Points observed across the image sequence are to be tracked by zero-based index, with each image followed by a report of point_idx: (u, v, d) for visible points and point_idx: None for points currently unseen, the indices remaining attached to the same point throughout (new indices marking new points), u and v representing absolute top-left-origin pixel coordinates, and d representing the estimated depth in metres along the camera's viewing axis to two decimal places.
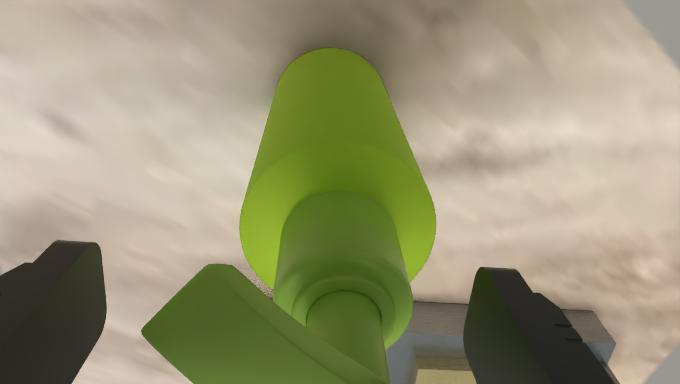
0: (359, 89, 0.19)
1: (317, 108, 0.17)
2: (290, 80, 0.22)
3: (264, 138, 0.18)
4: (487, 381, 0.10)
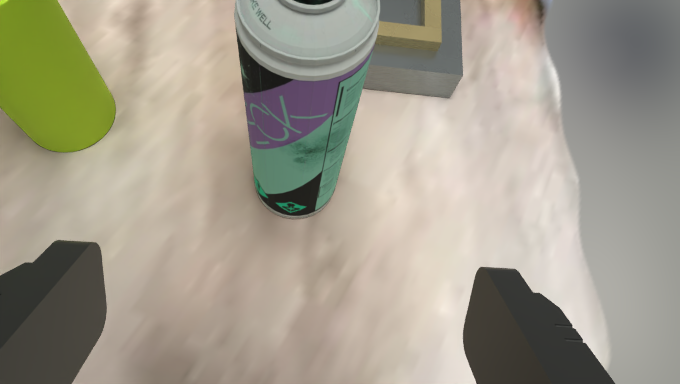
0: None
1: None
2: None
3: None
4: (487, 381, 0.10)
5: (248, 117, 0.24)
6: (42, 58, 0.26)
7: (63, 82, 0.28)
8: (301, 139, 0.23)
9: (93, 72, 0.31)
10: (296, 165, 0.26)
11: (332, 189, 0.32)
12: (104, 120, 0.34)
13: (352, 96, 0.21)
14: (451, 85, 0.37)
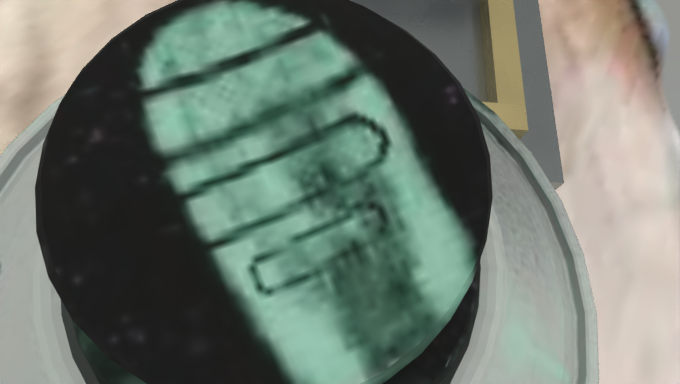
0: None
1: None
2: None
3: None
4: None
5: None
6: None
7: None
8: None
9: None
10: None
11: None
12: None
13: None
14: None
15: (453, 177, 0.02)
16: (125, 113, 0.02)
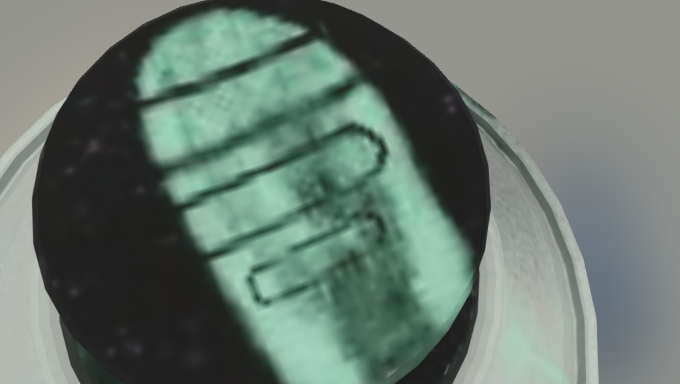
0: None
1: None
2: None
3: None
4: None
5: None
6: None
7: None
8: None
9: None
10: None
11: None
12: None
13: None
14: None
15: (452, 187, 0.02)
16: (121, 120, 0.02)
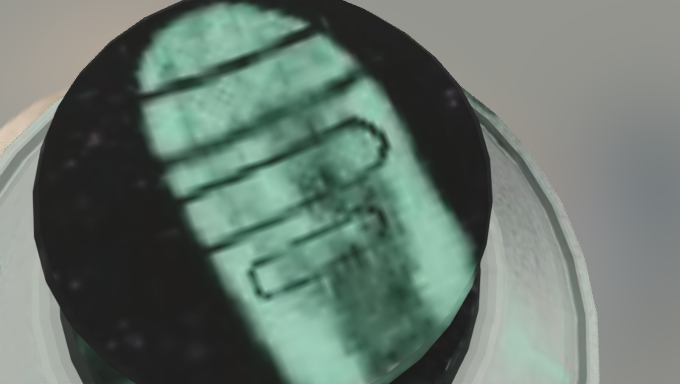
0: None
1: None
2: None
3: None
4: None
5: None
6: None
7: None
8: None
9: None
10: None
11: None
12: None
13: None
14: None
15: (454, 181, 0.02)
16: (122, 115, 0.02)
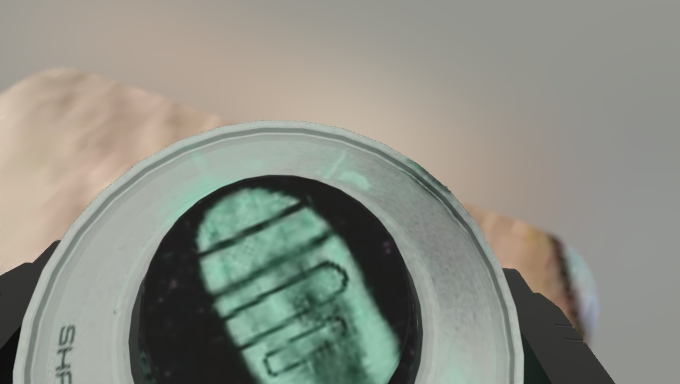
0: None
1: None
2: None
3: None
4: None
5: None
6: None
7: None
8: None
9: None
10: None
11: None
12: None
13: None
14: None
15: (387, 300, 0.03)
16: (189, 268, 0.03)
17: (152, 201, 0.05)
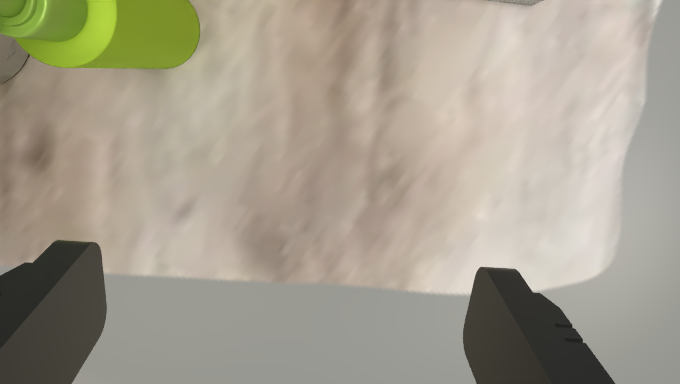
0: None
1: None
2: None
3: None
4: (487, 381, 0.10)
5: None
6: (139, 51, 0.29)
7: (157, 50, 0.32)
8: None
9: (177, 17, 0.33)
10: None
11: None
12: (192, 43, 0.37)
13: None
14: (533, 1, 0.35)
15: None
16: None
17: None
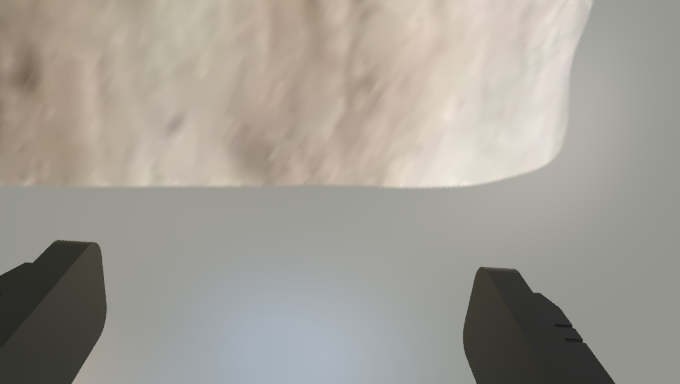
0: None
1: None
2: None
3: None
4: (487, 381, 0.10)
5: None
6: None
7: None
8: None
9: None
10: None
11: None
12: None
13: None
14: None
15: None
16: None
17: None
